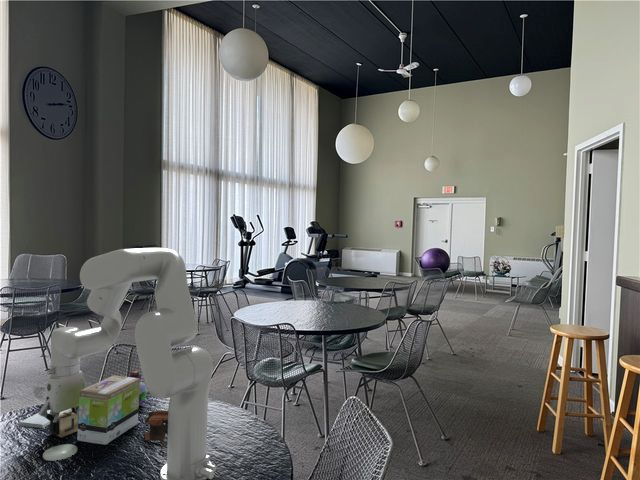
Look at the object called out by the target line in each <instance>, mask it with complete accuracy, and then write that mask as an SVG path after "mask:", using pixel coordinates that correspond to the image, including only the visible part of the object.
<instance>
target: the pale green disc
mask: <svg viewBox="0 0 640 480" xmlns="http://www.w3.org/2000/svg"><path fill="white" fill-rule="evenodd" d="M76 453H78V447H77V446H76V445H75V444H69V443H66V444H59V445H55V446H53V447H50V448H47V449H46V450H45V451H44V452H43V453H42V458H43V460H45V461H49V462H55V461H56V460H58V461H63V460H65V459H68V457H69V458H71V457H72V455H73V456H75V454H76ZM62 459H63V460H62ZM56 462H57V461H56Z"/></svg>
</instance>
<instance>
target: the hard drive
mask: <svg viewBox="0 0 640 480" xmlns="http://www.w3.org/2000/svg"><path fill="white" fill-rule="evenodd" d="M66 411H70V412H72V411H71V409H68V410H65V411H62V412H60V413H63V412H66ZM38 413H39V412H37V413H35V414H33V415H31V416H29V417H27V418H25V419H24V420H22V421H19V423H18V426H20V427H21V426H22V427H30V428H39V429H44V428H45V427H47V426H50V421H49V420H48V419H46V418H45V417H43V416H40V415H39V414H38ZM47 413H48V414H49V413H50V410H48V411H47ZM60 413H59V414H60Z"/></svg>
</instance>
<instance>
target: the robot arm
mask: <svg viewBox="0 0 640 480" xmlns="http://www.w3.org/2000/svg"><path fill="white" fill-rule="evenodd" d="M187 274H188V273H187V267H186V263H185V261H184V259H183V256H181V255H180V253H178V252H177V251H176V250H174V249H172V248H171V249H170V248H165V247H142V248H140V247H139V248H122V249H121V248H120V249H117V250H116V249H115V250H112V251H109V252H106V253H103V254H100V255H95V256H94V257H90V258H89V259H87V260H86V261H85V262H84V263H83V265H81V268H80V272H79V280H80V284H81V285H82V287H84V288H85V289H86V290H89V291H90V290H91V292H90V293H89V295H88V297H87V298H86V299H87V300H86V304H87V307H88V308H89V310H90V311H92V312H93V313H95V314H96V315H98V316H102V317H103V319H102V321H101V323H100V324H99V326H96V327H91V328H88V329H87V328H86V329H83V330H80V328H78V327H75V326H64V327H63V326H62V327H57V328H54V330H52V332H51V335H50V336H51V337H50V338H51V339H50V340H51V341H50V366H49V369H47V370H46V375H47V376H48V378H47V381H46V387H45V393H44V394H45V395H44V404H43V406H42V407H41V408H40V410H39V411H38V412H37V413H38V414H39V415H40V416H43V417H45V418H46V419H48V420H49V421H50V424H49V433H50V434H52V435H54V436H56V435H59V421H58V417H59V413H60V412H62V411H65V410H68V409H71V412H73V413H76V414H78V415H79V396H80V390H82V389H84V388H86V384H85V377H84V372H83V371H82V370H80V369H81V358H85V357H88V356H90V355H94V354H95V355H96V354H98V353H103V352H106V351H107V350H109V349H110V348H111V347H112V346H113V345H114V343H115V342H116V340H117V339H118V336H119V334H120V333H121V330H122V325H123V323H122V320H123V319H122V314H121V312H120V310H119V309H120V307H121V305H122V302H123V301H124V300H125V297H126V296H127V293H128V292H129V289H130V288H131V286H132V284H133V283H137V282H145V281H153V280H157V281H156V283H155V288H154V299H155V302H156V304H155V305H156V310H152V311H149V312H146V313H145V314H143V315H142V316H141V317H139V319H138V320H137V322H136V325H135V329H134V342H135V348H136V351H137V356H138V360H139V361H138V362H139V365H140V370H141V376H142V378H143V383H145V385H146V388H147V390H146V391H148V393H149V394H150V395H151V396H152V397H154V398H155V399H159V400H162V399H163V400H164V399H167V398H168V399H169V401H168V409H167V411H168V435H167V443H166V444H167V445H166V446H167V449H166V450H167V451H166V453H167V454H166V455H167V456H166V463H165V464H164V465H163V466H162V468H160V471H159V472H160V473H159V477H160V480H207V479H210V480H211V479H213V478H214V475H215V472H216V471H217V468H218V467H217V465H215V464H212V462H211V460H210V455H209V454H207V446H208V444H207V442H208V441H207V438H208V410H209V409H208V408H209V392H210V385H211V380H212V376H213V359H212V357H211V355H210V353H209V352H208V351H207V349H205V348H202V347H199V346H190V347H185V348H182V349H179V350H177V351H174V352H173V351H172V350H173V349H172V348H174V347H177V346H180V345H182V344H185V343H188V342H190V341H191V340H193V339H194V338H196V335H197V333H198V323H197V321H198V320H197V318H196V317H197V316H196V314H195V310H194V309H195V308H194V305H193V300H192V297H191V293H190V292H191V291H190V289H189V284H188V278H187V277H188V275H187ZM48 410H50V413H49V414H48V413H47V411H48Z"/></svg>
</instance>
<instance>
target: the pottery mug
mask: <svg viewBox="0 0 640 480" xmlns="http://www.w3.org/2000/svg"><path fill="white" fill-rule="evenodd" d="M147 414H148V416H147V417H146V418H145V420H144V423H145V424H148V425H149V431H147V432H144V440H145V441H157V442H158V441H159V442H160V441H161V442H164V441H165V439H166V438H165V437H166V435H167V436H168V410H156V411H155V410H154V411H153V410H152V411H150V412H148V413H147Z"/></svg>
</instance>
